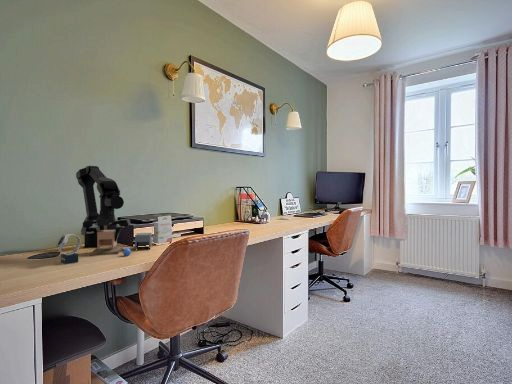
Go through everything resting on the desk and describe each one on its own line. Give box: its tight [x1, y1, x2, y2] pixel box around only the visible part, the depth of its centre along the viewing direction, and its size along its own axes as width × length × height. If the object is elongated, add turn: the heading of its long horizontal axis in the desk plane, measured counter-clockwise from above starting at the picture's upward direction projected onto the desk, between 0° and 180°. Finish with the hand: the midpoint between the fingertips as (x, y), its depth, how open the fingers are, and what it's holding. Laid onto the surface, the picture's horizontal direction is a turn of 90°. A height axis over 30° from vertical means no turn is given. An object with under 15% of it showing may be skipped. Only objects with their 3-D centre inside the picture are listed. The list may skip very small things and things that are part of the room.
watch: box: [56, 233, 82, 265], centre depth 113 cm, size 6×8×11 cm
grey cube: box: [134, 232, 153, 250], centre depth 139 cm, size 7×7×7 cm
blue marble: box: [122, 247, 132, 257], centre depth 124 cm, size 3×3×3 cm
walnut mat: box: [89, 246, 124, 256], centre depth 131 cm, size 11×11×1 cm
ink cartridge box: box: [152, 215, 173, 244], centre depth 150 cm, size 9×5×15 cm, turn 143°
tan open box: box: [96, 229, 118, 249], centre depth 131 cm, size 7×7×7 cm
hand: (107, 241), depth 131 cm, fingers closed on tan open box, 7 cm apart
